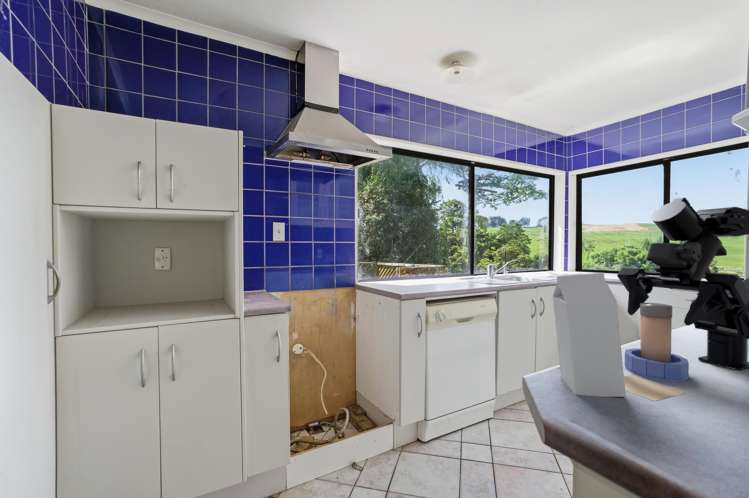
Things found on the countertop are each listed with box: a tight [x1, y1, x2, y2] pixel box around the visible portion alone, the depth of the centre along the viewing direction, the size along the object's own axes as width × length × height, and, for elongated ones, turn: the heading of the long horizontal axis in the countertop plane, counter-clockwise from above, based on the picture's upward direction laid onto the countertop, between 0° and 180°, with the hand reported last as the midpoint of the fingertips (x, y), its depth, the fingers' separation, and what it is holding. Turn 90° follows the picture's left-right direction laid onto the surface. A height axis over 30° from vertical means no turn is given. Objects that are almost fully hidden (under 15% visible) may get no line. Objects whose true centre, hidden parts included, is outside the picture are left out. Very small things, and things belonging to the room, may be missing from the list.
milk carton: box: [552, 272, 627, 398], centre depth 57 cm, size 7×7×19 cm
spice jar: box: [639, 302, 673, 363], centre depth 63 cm, size 5×5×12 cm
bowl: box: [624, 348, 690, 383], centre depth 63 cm, size 9×9×4 cm
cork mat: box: [624, 374, 686, 402], centre depth 57 cm, size 8×8×1 cm
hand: (655, 318), depth 63 cm, fingers open, 9 cm apart
